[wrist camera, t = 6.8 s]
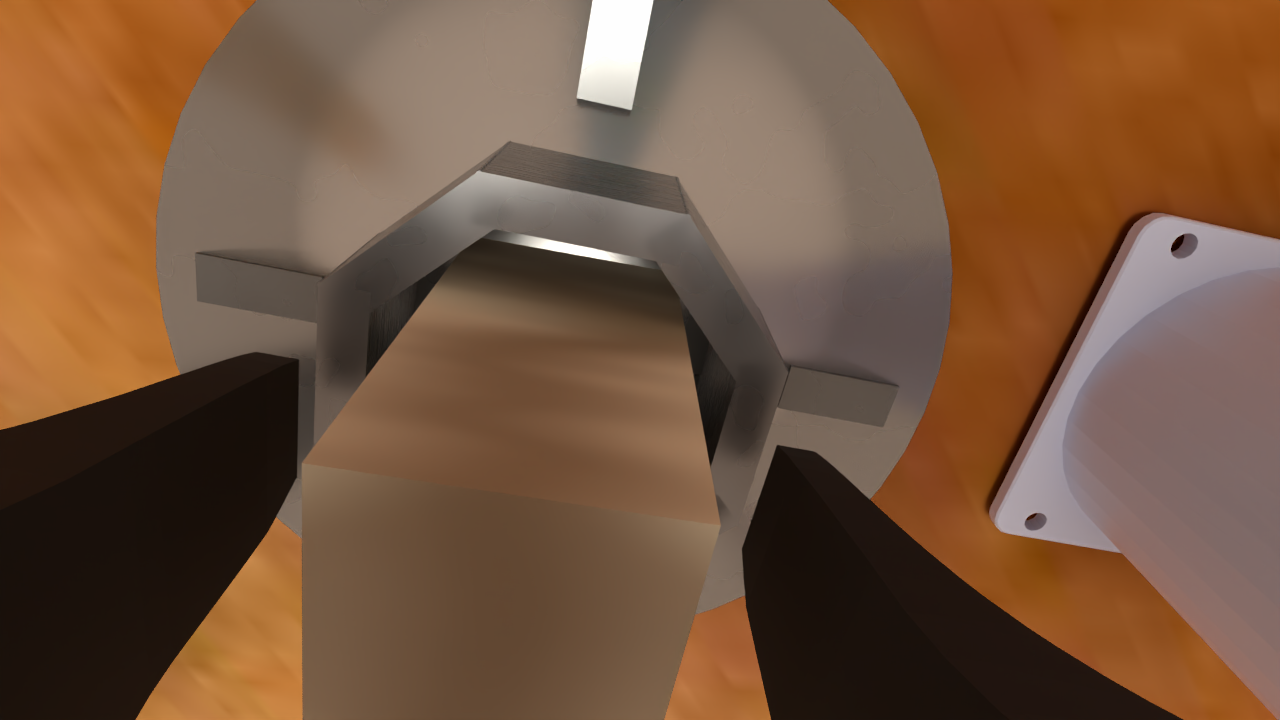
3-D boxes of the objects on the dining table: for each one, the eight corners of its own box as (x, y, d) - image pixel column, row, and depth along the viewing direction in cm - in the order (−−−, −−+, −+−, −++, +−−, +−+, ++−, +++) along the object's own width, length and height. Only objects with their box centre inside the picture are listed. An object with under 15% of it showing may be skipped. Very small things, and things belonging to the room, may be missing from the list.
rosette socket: (1063, 13, 13) (1224, 9, 10) (803, 644, 20) (843, 782, 16) (161, -213, 12) (-48, -320, 8) (200, 553, 18) (94, 684, 15)
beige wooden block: (674, 272, 14) (720, 525, 7) (636, 442, 16) (643, 791, 9) (472, 235, 14) (301, 463, 7) (454, 414, 16) (302, 752, 8)
